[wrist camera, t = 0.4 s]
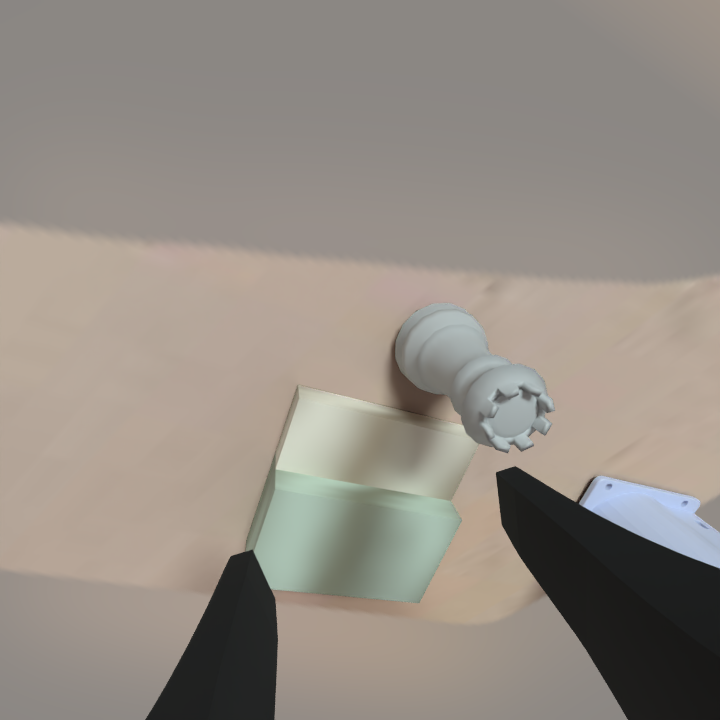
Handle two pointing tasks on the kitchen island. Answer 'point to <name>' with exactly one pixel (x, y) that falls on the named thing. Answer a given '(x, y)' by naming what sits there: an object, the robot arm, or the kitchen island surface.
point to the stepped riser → (359, 499)
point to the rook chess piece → (473, 377)
